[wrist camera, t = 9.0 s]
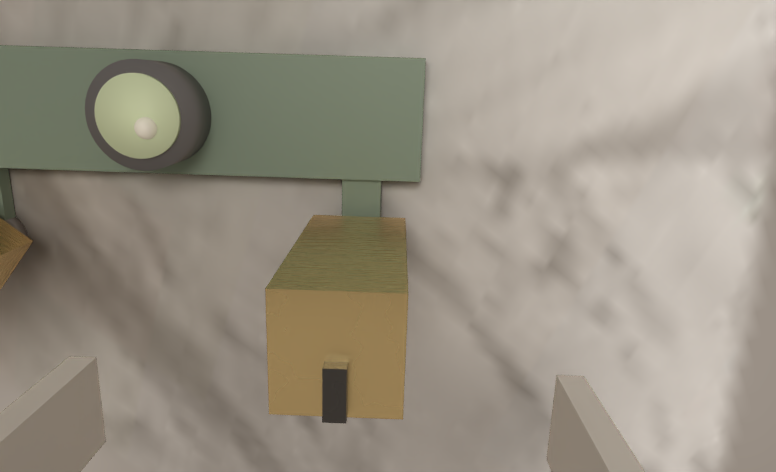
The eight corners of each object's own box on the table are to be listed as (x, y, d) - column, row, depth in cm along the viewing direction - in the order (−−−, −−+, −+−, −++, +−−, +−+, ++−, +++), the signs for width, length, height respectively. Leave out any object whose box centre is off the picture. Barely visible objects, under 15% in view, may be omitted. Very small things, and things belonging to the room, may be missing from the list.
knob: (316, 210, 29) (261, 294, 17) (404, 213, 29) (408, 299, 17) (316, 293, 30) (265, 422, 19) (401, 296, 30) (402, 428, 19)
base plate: (-89, 43, 28) (-176, 36, 24) (424, 59, 28) (429, 54, 24) (-49, 259, 31) (-119, 287, 27) (414, 276, 31) (416, 306, 27)
